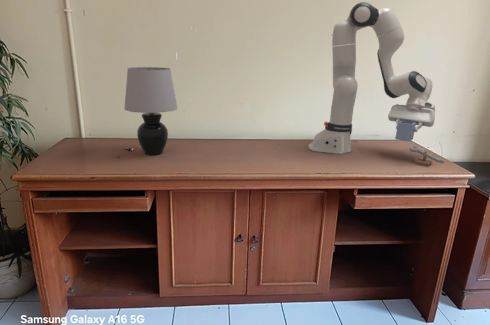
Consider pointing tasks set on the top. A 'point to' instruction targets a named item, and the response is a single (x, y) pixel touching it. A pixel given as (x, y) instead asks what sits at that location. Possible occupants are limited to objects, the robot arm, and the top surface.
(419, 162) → the post stand
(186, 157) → the top surface
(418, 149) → the adjustable wrench
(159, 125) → the lamp
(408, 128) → the collar
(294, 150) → the top surface
